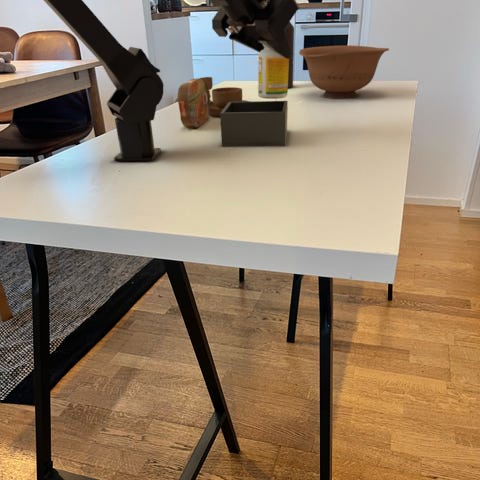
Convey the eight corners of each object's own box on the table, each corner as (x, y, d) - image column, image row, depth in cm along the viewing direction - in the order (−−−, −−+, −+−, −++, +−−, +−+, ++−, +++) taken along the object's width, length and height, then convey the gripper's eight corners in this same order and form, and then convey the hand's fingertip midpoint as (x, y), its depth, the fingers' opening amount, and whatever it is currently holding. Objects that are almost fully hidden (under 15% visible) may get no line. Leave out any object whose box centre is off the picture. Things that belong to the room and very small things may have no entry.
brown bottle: (282, 85, 145) (282, 6, 134) (297, 86, 140) (299, 5, 129) (265, 87, 141) (264, 7, 130) (280, 89, 137) (281, 6, 126)
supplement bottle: (252, 97, 88) (252, 36, 83) (270, 93, 91) (271, 35, 86) (275, 100, 85) (276, 37, 80) (293, 96, 88) (295, 35, 83)
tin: (193, 131, 96) (189, 85, 91) (178, 131, 96) (173, 85, 92) (211, 116, 108) (209, 75, 103) (198, 116, 109) (195, 75, 104)
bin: (285, 145, 84) (285, 112, 81) (221, 146, 85) (220, 113, 82) (287, 131, 93) (287, 100, 90) (230, 132, 94) (228, 101, 91)
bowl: (304, 104, 116) (305, 53, 110) (292, 91, 134) (293, 46, 128) (394, 100, 116) (401, 49, 110) (370, 87, 134) (375, 42, 128)
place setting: (184, 117, 108) (181, 89, 105) (202, 102, 124) (200, 77, 121) (261, 117, 105) (261, 87, 102) (269, 101, 122) (269, 75, 119)
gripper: (290, -75, 67) (343, 16, 78) (224, -59, 80) (276, 17, 91) (243, -6, 68) (302, 74, 79) (185, -2, 81) (242, 66, 92)
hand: (280, 55), depth 85 cm, fingers closed on supplement bottle, 5 cm apart
